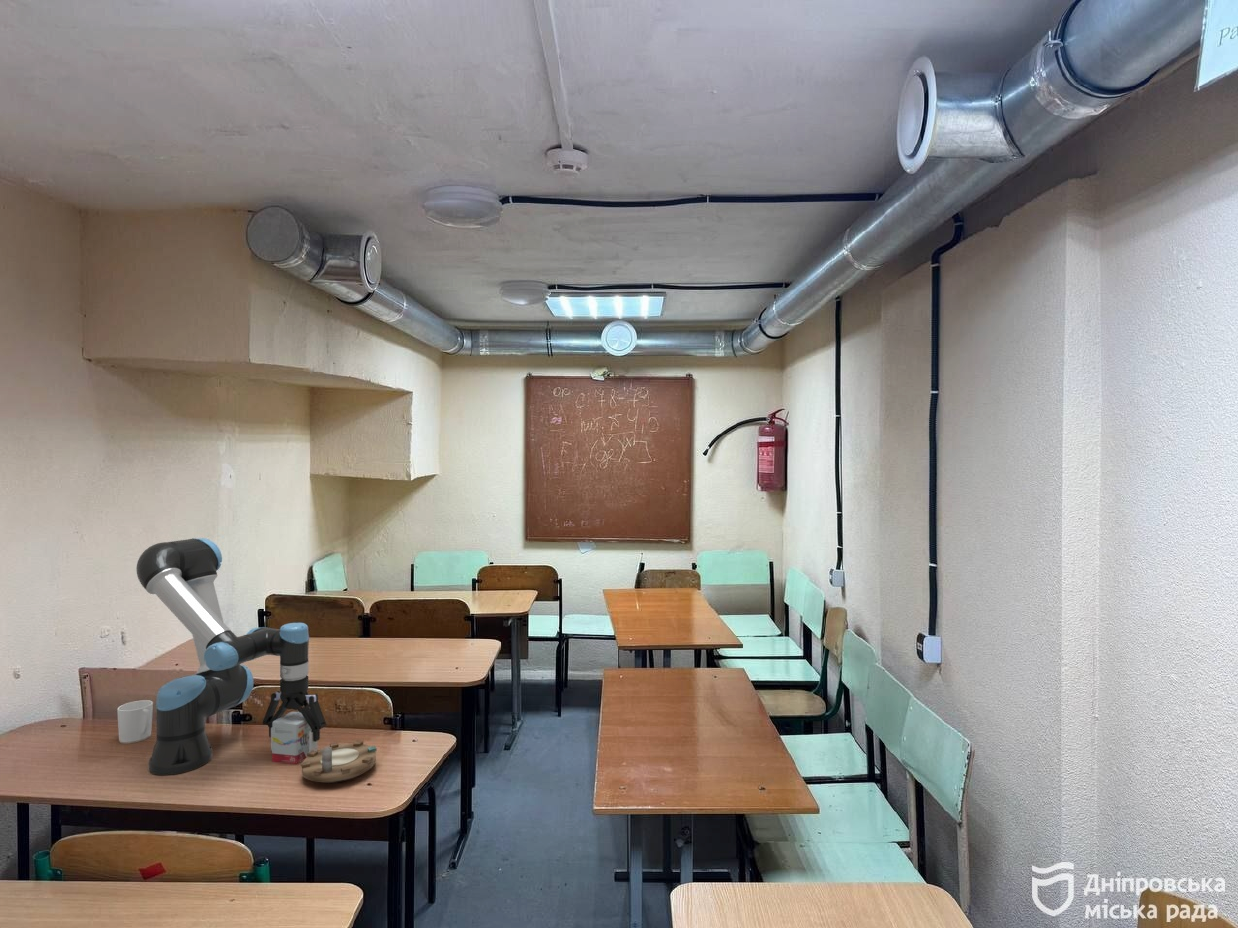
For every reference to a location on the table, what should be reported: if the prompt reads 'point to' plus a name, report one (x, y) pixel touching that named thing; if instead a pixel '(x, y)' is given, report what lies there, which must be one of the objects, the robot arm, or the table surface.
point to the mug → (135, 721)
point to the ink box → (290, 738)
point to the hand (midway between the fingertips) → (294, 749)
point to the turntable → (338, 762)
